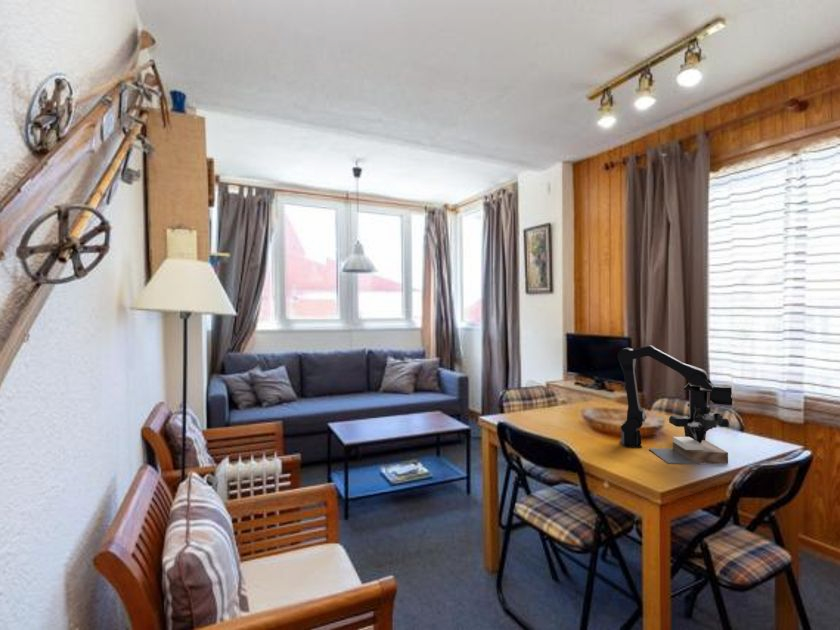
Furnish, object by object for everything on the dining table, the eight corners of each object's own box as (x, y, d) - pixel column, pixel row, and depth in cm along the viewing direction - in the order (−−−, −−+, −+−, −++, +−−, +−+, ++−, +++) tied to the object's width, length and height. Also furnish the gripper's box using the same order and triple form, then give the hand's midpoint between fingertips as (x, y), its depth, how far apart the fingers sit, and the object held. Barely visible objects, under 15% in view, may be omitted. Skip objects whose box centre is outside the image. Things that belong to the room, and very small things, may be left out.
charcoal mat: (667, 463, 151) (667, 462, 151) (649, 449, 166) (649, 448, 166) (700, 464, 150) (700, 463, 150) (678, 449, 165) (678, 448, 165)
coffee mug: (690, 447, 168) (690, 422, 168) (678, 440, 176) (678, 416, 176) (720, 447, 167) (720, 422, 167) (706, 440, 176) (706, 416, 176)
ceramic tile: (685, 449, 154) (685, 444, 153) (673, 441, 162) (673, 436, 162) (703, 450, 153) (703, 444, 153) (689, 441, 162) (689, 436, 162)
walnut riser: (692, 463, 151) (692, 452, 151) (672, 449, 165) (672, 439, 165) (728, 463, 150) (728, 452, 150) (705, 450, 164) (705, 440, 164)
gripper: (683, 407, 150) (684, 451, 150) (739, 407, 148) (739, 451, 149) (668, 400, 161) (668, 441, 162) (719, 400, 160) (719, 441, 160)
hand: (698, 443), depth 158 cm, fingers closed
